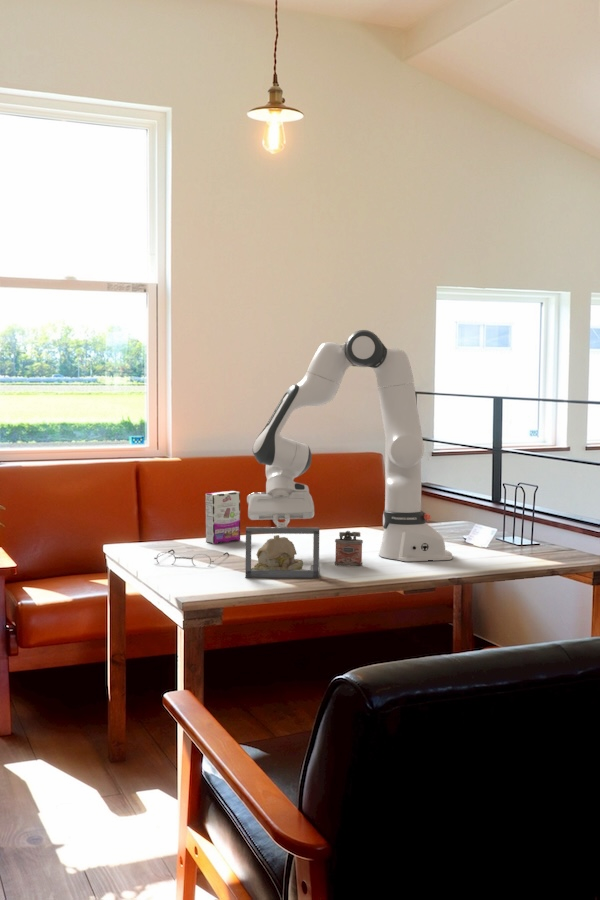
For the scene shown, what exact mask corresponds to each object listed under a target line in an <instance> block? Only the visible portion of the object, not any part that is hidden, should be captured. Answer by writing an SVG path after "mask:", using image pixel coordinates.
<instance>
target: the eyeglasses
mask: <svg viewBox="0 0 600 900" xmlns="http://www.w3.org/2000/svg"><path fill="white" fill-rule="evenodd" d="M172 552H173V553H172ZM174 553H175V550H174V549H170V550H168V551H164V552H163V551H162V552H160V553H158V554H157V555H156V557H154V558H153V560H156V562H157V564H158V563H160V562H159V560H158V558H159V557H162V556H164V555H166V554H170V555H172V556H173V557H174V561H173V563H172V565H174V564H175V563H176V560H177V559H179V560H180V559H185V560H191V563H192V565H194V567H196V566H197V565H196V564H194V561H193V560H194V557H195V556H198V555H203V556H206V557H208V558H209V561H210V562H209V565H208V566H207V567H209V566H211V564H212V563H214V562H215V561H216V560H218V559H220V558H221V557H223V556H226V555H228V556H230V554H229V552H228V551H227V552H224V553H223V555H221V556H218V558H215V559H214V560H212V558H211V557H210V556H209V555H208V554H204V553H196V554H194V555H193V556H192V557H188V556H175V554H174ZM159 555H160V556H159Z"/></svg>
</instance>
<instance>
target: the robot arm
mask: <svg viewBox="0 0 600 900" xmlns="http://www.w3.org/2000/svg"><path fill="white" fill-rule="evenodd" d="M350 367H358V368H359V367H360V368H371V369H373V371H374V373H375V377H376V382H377V383H376V384H377V391H378V398H379V404H380V405H379V406H380V414H381V418H382V419H381V420H382V426H383V431H384V437H385V438H384V439H385V444H384V445H385V449H384V451H385V453H384V454H385V455H384V457H385V459H384V461H385V464H384V465H385V466H384V467H385V468H384V469H385V472H384V474H385V476H384V477H385V478H384V479H385V482H384V483H385V484H384V485H385V490H384V491H385V492H384V495H385V496H384V499H385V500H384V510H383V514H382V526H383V534H382V541H381V545H380V549H379V551H378V552H379V553H378V556H380V557H382V558H384V559H391V560H398V561H402V562H426V561H428V560H433V561H449V560H452V559H453V553H452V552H450V551H449V550H446V544H445V539H444V537H443V536H442V534H440V532H438V531H437V530H436V529H434V527H432V526H431V525H430V524H428V521H430V520H431V519H432V516H431V515H430V513H426V512H425V511H422V462H421V461H422V458H423V456H424V453H425V447H424V446H425V445H424V440H423V439H424V438H423V433H422V427H421V422H420V415H419V411H418V404H417V397H416V389H415V388H416V387H415V383H414V376H413V375H414V374H413V371H412V367H411V364H410V360H409V357H408V354H407V353H406V352H405V351H404V350H402V349H399V348H387V347H386V346H385V344H384V343H383V341H381V339H380V337H378V335H377V334H375V332H373V331H370V330H367V329H361V330H357V331H355V332H353V333H352V334H350V335H349V337H348V338H347V340H346V342H345V341H344V343H337V342H333V341H326V342H323V343H321V344H320V345H319V346H318V348H317V350H316V352H315V354H314V355H313V356H312V359H311V361H310V363H309V365H308V368H307V371H306V373H305V374H304V376H303V378H302V379H301V380H300V381H299V382H298V383H296V384H293V385H290V386H289V388H288V389H287V390H286V391H285V393H284V395H283V396H282V397H281V399H280V401H279V402H278V404H277V406H276V408H275V409H274V411H273V413H272V415H271V416H270V417H269V419H268V421H267V423H266V425H264V426H265V427H264V428H263V429H262V430H261V431H260V433H259V435H258V436H257V437H256V439H255V441H254V443H253V446H252V454H253V457H254V458H255V460H256V461H257V462H258V464H261V465H265V477H266V482H265V492H264V491H263V492H252V493H250V494H248V495H247V496H246V503H247V505H248V507H247V517H248V519H249V520H251V521H257V520H258V521H259V520H260V521H263V520H265V521H266V520H272V523H274V525H275V527H288V524H289V523H290V521H291V520H301V519H302V520H306V519H307V520H308V519H309V520H311V519H313V518H314V516H315V504H314V500H313V497H312V495H311V494H310V488H309V486H308V485H307V484H305V483H300V482H296V481H294V480H295V479H296V478H298V477H300V476H301V475H303V474H304V473H306V472H307V471H308V469H310V467H311V464H312V451H311V448H310V446H309V445H308V444H307V443H303V442H300V441H297V440H295V439H291V438H288V437H286V436H282V435H280V434H281V432H282V430H283V429H284V427H285V425H286V423H287V421H288V420H289V419H290V416H291V414H292V413H293V412H294V411H295V410H297V409H301V408H304V407H305V408H306V407H318V406H319V407H321V406H323V405H326V404H328V403H330V402H332V401H333V400H334V398H335V397H336V395H337V394H338V391H339V389H340V386H341V383H342V380H343V378H344V375H345V374H346V373H347V370H348V369H349V368H350ZM279 520H284V521H283V522H282V521H281V522H280V521H279ZM428 562H429V561H428Z"/></svg>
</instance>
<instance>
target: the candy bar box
mask: <svg viewBox="0 0 600 900" xmlns="http://www.w3.org/2000/svg"><path fill="white" fill-rule="evenodd" d="M204 498H205V499H204V500H205V543H209V544H213V545H218V544H224V543H230V542H237V541H239V542H240V541H241V492H240V491H236V490H229V491H228V490H227V491H217V492H216V491H215V492H211V493H207V492H206V493H205V494H204Z"/></svg>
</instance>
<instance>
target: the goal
mask: <svg viewBox="0 0 600 900" xmlns="http://www.w3.org/2000/svg"><path fill="white" fill-rule="evenodd" d="M253 534H258V535H260V534H269V535H270V534H272V535H273V534H278V535H280V534H281V535H284V534H287V535H288V534H289V535H292V534H293V535H294V534H295V535H303V534H306V535H310V534H311V535H312V534H313V535H312V538H313V540H312V541H313V545H312V547H313V548H312V552H313V553H312V555H313V556H312V564H310V569H301V570H251V569H252V535H253ZM319 571H320V527H308V526H306V527H304V526H303V527H302V526H301V527H300V526H298V527H293V526H292V527H291V526H287V527H277V526H274V527H273V526H272V527H271V526H263V527H262V526H246V527H245V577H244V578H245V579H319V577H320V575H319V574H320V572H319Z"/></svg>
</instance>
